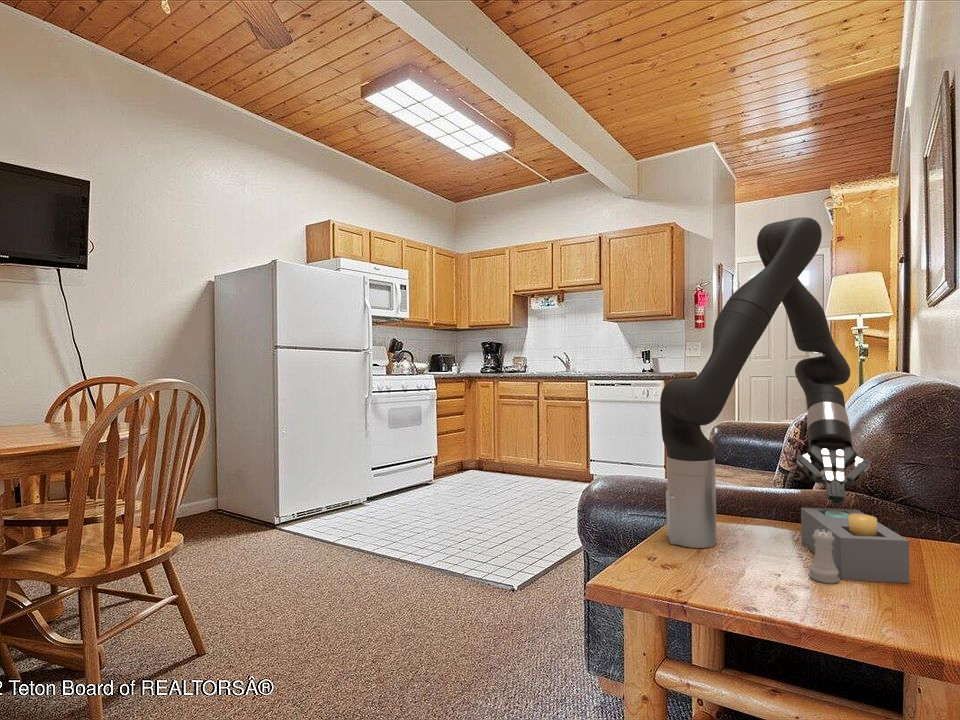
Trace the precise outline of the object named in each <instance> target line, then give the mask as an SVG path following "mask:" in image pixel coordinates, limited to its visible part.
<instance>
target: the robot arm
mask: <svg viewBox="0 0 960 720" xmlns="http://www.w3.org/2000/svg"><path fill="white" fill-rule="evenodd" d="M822 234H823V232H822V226H821V225H820V223H819V222H818V221H817V220H815V219H813V218H812V217H795V218H790V219H785V220H780V221H775V222H771V223H768V224H766V225H764V226H763V227H762V228H761V229H760V230H759V232H758V235H757V238H756V246H757V252H758V255H759V258H760V260H761V262H762V265H763V266H764V268H763V269H762V270H761V271H760V272H758V273H757V274H756V275H755V276H753V277H751V278H750V280H747V282H745V283H744V284H743V285H742V286H740V287H739V288H738V289H737V290H736V291H735V292H733V294H732V295H731V296H729V298H728V299H727V301H726V302H725V304H724V306H723V308H722V309H721V311H720V312H719V314H718V315H717V317H716V319H715V322H714V325H713V331H712V332H713V333H712V350H711V354H710V356H709V357H708V358H709V359H708V360H707V361H706V363H705V364H704V366H703V368H702V369H701V371H700V372H699V373H698V375H697V376H696V377H695V378H688V377H686V378H685V377H680V378H679V377H678V378H672V379H671V380H669V381H668V382H667V383H665V385H664V386H663V389H662V391H661V394H660V400H659V401H660V402H659V408H660V409H659V410H660V411H659V413H660V425H661V436H662V437H661V438H662V442H663V444H664V447H665V450H666V475H667V476H666V483H667V485H666V486H667V489H666V490H665V507H666V508H665V509H666V511H665V512H666V519H665V520H666V535H667V539H668V541H669V543H670V544H671V545H677V546H681V547H684V548H685V547H686V548H695V549H705V548H711V547H714V546H716V545H717V543H718V542H717V541H718V539H717V538H718V537H717V536H718V533H717V499H716V498H717V496H716V495H717V492H716V489H717V487H716V451H715V450H716V447H715V445H714V444H713V442H712V441H711V440H710V439H708V437H706V436H705V435H704V432H703V431H702V429H701V426H706V425H709V424H712V423H713V422H714V421H715V420H717V418H718V417H719V415H720V414H721V413H722V411H723V410H724V409H723V408H724V407H725V405H726V403H727V401H728V399H729V396H730V395H731V392H732V390H733V387H734V386H735V384H736V381H737V380H738V379H737V378H738V377H739V375H740V372H741V371H742V369H743V367H744V365H745V364H746V362H747V360H748V359H749V357H750V355H751V353H752V351H753V350H754V348H755V346H756V345H757V343H758V342H759V340H760V339H761V337H762V335H763V334H764V332H765V331H766V329H767V327H768V325H769V323H770V322H771V321H772V319H773V317H774V315H775V313H776V312H777V310H778V308H779V307H780V305H781V303H782V305H783V307H784V309H785V313H786V315H787V318H788V322H789V325H790V329H791V333H792V335H793V339H794V343H795V345H796V347H797V349H798V350H799V351H801V352H805V353H819V354H822V355H820V356H815V357H808V358H804V359H801V360H799V361H798V362H797V364H796V365H795V367H794V376H795V378H796V379H797V382H798V385H800V387H801V388H802V391H803V393H804V396H805V401H806V408H807V409H806V410H807V416H806V417H807V418H806V429H807V437H808V448H807V451H806V453H805V454H803V455H802V454H798V455H797V456H796V466H798V467H799V468H800V469H801V470H802V471H803V472H804V473H805V474H806V475H807V476H808V477H809V478H810V479H811V480H813V482H815V483H816V484H822V485H824V486H825V490H826V491H825V492H826V498H827V500H828V501H831V504H842V502H844V501H845V498H846V491H845V486H849V487H852V486H854V485H855V484H856V483H857V481H859V480H860V479H861V478H862V477H863V476H864V475H865V474H866V473H868V471H869V470H870V466H871V460H870V459H868V458H861V457H859V456H858V453H857V452H856V450H854V445H853V442H852V441H853V440H852V433H851V425H850V420H849V417H848V413H847V410H846V409H847V408H846V402H845V396H844V392H843V391H842V389H841V388H839V387H837V386H841V385H844V384H846V383H847V382H848V381H849V380H850V378H851V368H850V365H849V363H848V362H847V360H846V358H845V357H844V355H843V354H842V352H841V351H840V350H839V349H838V347H837V345H836V343H835V341H834V338H833V337H832V335H831V330H830V327H829V324H828V320H827V316H826V314H825V311H824V308H823V306H822V305H821V304H820V302H819V301H818V300H817V298H816V297H815V296H814V295H813V294H812V293H811V292H810V291H809V290H808V289H807V287H805V285H804V284H803V283H802V282H801V280H800V279H799V277H800V276H801V274H802V273H803V271H805V269H806V268H807V267H808V266H809V264H810V263H811V261H812V260H813V259H814V257H815V255H816V254H817V252H818V250H819V248H820V246H821V243H822V237H823V235H822ZM853 464H854V468H853V469H852V470H851V471H850V472H848V474H847V475H845V471H847V470H848V469H849V468H850V467H851V466H852V465H853ZM819 469H820V470H819ZM834 479H835V480H834Z"/></svg>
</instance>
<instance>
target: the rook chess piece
mask: <svg viewBox="0 0 960 720" xmlns="http://www.w3.org/2000/svg"><path fill="white" fill-rule="evenodd" d="M812 537H813V538H814V540H815V544H814V546H815V554H814V557H813V561H812V562H811V564H810V565H809V567H808V569H809V572H808V575H809V576H810V578H811V580H813V579H814V581H815V580H816V582H819V583H822V584H830V585H831V584H837V583H838V582H839V581H840V580H841V579H840V578H839V577H838V575H839V571H838V569H837V568H836V565H835V564H834V561H833V556H832V549H833V546H832V542H833V541H834V540H835V538H834V537H833V536H832V532H831V531H827V533H825V530H823V529H822V532H820V530H819V529H816V530H815V533H814V534H813V535H812Z"/></svg>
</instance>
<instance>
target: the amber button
mask: <svg viewBox="0 0 960 720" xmlns="http://www.w3.org/2000/svg"><path fill="white" fill-rule="evenodd" d="M877 522H878V518H877V517H875V516H873V515H869V514H866V513H864V514H849V533H850V534H852V535H853V536H874V537H877Z"/></svg>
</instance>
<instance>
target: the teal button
mask: <svg viewBox="0 0 960 720" xmlns="http://www.w3.org/2000/svg"><path fill="white" fill-rule="evenodd" d="M825 516H827V517H828V518H847V519H849V514H848V513H845V512H841V511H826V512H825Z"/></svg>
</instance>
